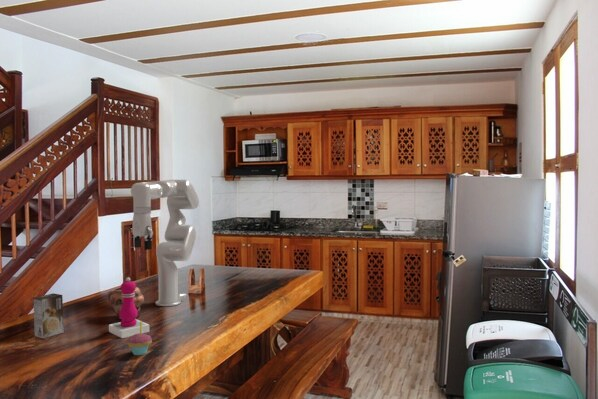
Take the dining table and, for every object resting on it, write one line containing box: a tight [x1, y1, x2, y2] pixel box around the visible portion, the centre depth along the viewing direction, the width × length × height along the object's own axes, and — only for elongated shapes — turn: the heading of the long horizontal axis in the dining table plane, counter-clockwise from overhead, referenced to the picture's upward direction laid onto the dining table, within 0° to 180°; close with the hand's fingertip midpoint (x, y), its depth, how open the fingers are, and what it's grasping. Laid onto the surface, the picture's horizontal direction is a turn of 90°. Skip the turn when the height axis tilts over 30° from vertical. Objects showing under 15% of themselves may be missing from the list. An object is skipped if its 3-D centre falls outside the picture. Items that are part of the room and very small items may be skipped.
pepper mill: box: [119, 277, 138, 327], centre depth 208 cm, size 7×7×20 cm
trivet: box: [108, 318, 150, 339], centre depth 210 cm, size 12×12×3 cm
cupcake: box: [127, 321, 153, 356], centre depth 184 cm, size 9×8×12 cm
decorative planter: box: [107, 286, 145, 320], centre depth 232 cm, size 20×12×14 cm, turn 74°
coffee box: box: [32, 293, 65, 339], centre depth 206 cm, size 9×6×16 cm
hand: (142, 248), depth 228 cm, fingers open, 9 cm apart
